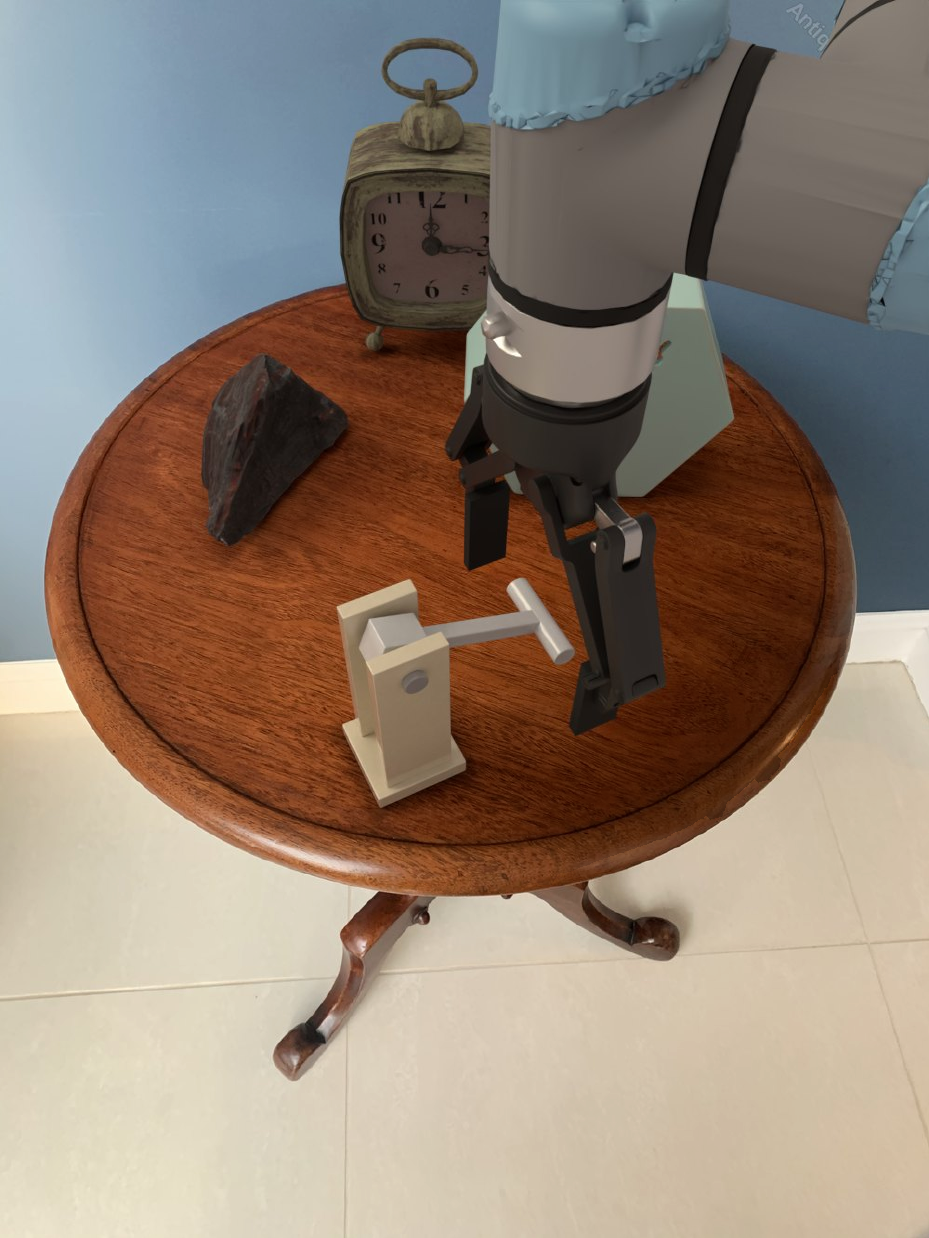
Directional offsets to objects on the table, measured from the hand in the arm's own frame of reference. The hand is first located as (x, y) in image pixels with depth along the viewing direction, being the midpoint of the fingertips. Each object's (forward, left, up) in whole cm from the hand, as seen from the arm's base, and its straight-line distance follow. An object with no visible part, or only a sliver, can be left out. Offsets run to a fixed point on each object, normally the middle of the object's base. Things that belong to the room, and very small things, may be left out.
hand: (535, 637), depth 60 cm
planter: (+2, -23, -7) cm, 24 cm away
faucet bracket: (+6, +7, -7) cm, 11 cm away
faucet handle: (+4, +4, +3) cm, 6 cm away
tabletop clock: (+19, -35, -7) cm, 40 cm away
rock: (+24, -13, -7) cm, 28 cm away
